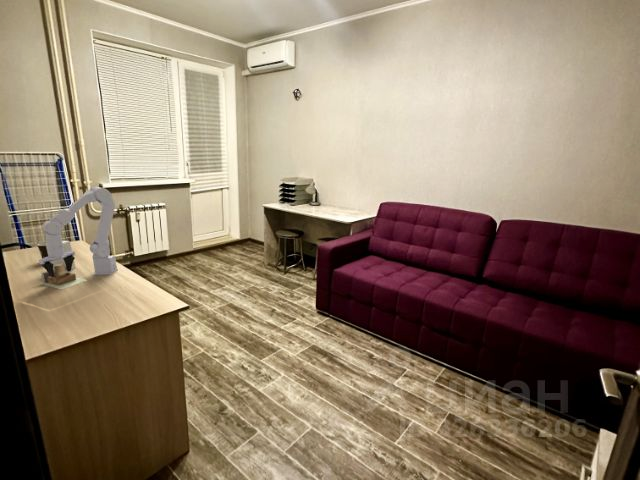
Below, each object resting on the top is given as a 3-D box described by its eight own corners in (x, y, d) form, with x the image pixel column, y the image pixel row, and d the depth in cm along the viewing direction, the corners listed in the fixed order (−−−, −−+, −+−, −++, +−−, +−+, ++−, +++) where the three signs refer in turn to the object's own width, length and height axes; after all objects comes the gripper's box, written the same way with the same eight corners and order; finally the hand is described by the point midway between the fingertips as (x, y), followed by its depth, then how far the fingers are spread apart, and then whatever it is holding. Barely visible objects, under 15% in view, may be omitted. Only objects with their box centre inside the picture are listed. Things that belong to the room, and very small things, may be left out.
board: (87, 281, 163) (87, 280, 163) (61, 290, 153) (61, 289, 153) (67, 276, 169) (67, 274, 169) (40, 284, 158) (40, 283, 158)
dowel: (69, 279, 163) (66, 263, 161) (64, 282, 160) (61, 266, 157) (59, 279, 163) (56, 264, 161) (54, 282, 159) (51, 267, 157)
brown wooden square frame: (76, 279, 163) (75, 273, 162) (58, 285, 156) (57, 279, 155) (65, 276, 166) (64, 271, 165) (47, 282, 159) (46, 276, 158)
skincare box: (76, 268, 178) (71, 240, 174) (65, 273, 172) (60, 244, 168) (61, 267, 179) (56, 239, 175) (50, 272, 173) (44, 243, 168)
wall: (67, 276, 167) (65, 266, 166) (45, 283, 158) (43, 273, 157) (65, 275, 168) (63, 266, 166) (43, 282, 159) (41, 272, 157)
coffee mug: (43, 258, 191) (39, 242, 188) (61, 257, 194) (58, 240, 192) (36, 265, 181) (33, 247, 178) (56, 263, 184) (53, 246, 182)
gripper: (43, 252, 149) (49, 280, 152) (77, 243, 161) (81, 270, 165) (33, 249, 151) (39, 277, 155) (67, 241, 164) (72, 267, 168)
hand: (60, 273), depth 160 cm, fingers open, 7 cm apart
